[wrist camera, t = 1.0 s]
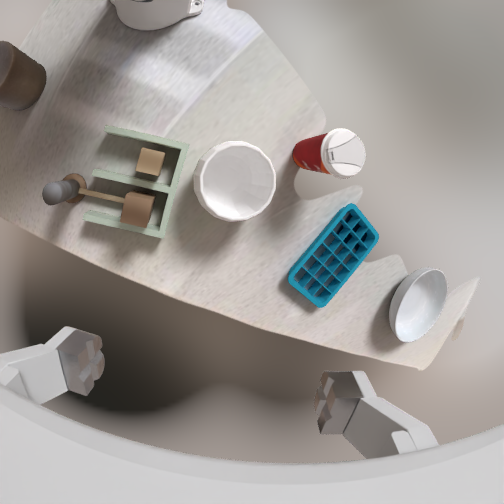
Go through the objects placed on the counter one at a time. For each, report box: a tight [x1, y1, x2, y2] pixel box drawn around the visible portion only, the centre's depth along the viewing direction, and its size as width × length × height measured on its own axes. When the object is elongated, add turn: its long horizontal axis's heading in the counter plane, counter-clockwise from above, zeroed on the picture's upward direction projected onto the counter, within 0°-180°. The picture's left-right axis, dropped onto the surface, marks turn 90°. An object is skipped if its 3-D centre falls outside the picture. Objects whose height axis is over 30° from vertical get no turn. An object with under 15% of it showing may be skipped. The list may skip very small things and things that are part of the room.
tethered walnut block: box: [42, 174, 156, 228], centre depth 40 cm, size 5×18×10 cm, turn 73°
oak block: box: [135, 147, 166, 176], centre depth 42 cm, size 4×4×7 cm
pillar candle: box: [0, 41, 46, 110], centre depth 27 cm, size 10×10×15 cm
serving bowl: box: [389, 267, 448, 343], centre depth 67 cm, size 21×21×7 cm
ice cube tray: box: [288, 203, 379, 308], centre depth 58 cm, size 12×20×3 cm, turn 138°
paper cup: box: [293, 128, 365, 179], centre depth 45 cm, size 8×8×14 cm
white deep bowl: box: [193, 141, 276, 222], centre depth 45 cm, size 12×12×10 cm
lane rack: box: [83, 125, 189, 239], centre depth 43 cm, size 15×14×4 cm
